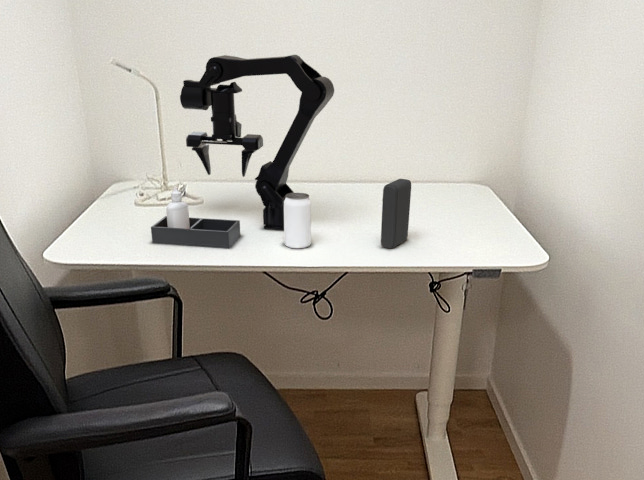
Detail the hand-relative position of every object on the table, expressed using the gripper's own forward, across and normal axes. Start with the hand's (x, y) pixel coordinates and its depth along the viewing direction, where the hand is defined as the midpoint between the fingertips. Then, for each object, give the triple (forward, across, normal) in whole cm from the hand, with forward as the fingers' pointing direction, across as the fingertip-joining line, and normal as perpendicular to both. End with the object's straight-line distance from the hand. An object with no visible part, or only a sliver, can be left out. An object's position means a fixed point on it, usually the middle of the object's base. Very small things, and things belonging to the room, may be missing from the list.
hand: (226, 175), depth 191 cm
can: (+12, -22, +16) cm, 30 cm away
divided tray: (+12, +3, +17) cm, 21 cm away
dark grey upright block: (+12, -45, +10) cm, 48 cm away
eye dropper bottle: (+12, +8, +17) cm, 22 cm away
